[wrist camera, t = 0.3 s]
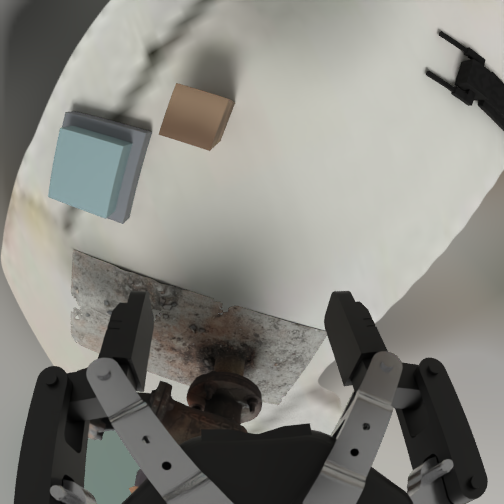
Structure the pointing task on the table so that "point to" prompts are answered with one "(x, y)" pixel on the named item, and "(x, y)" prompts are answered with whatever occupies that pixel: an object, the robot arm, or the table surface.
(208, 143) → the walnut pillar
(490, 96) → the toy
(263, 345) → the valve
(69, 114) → the tower base slab
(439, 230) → the table surface
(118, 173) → the tower top slab
